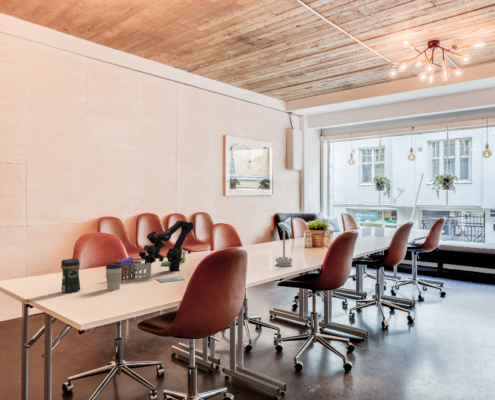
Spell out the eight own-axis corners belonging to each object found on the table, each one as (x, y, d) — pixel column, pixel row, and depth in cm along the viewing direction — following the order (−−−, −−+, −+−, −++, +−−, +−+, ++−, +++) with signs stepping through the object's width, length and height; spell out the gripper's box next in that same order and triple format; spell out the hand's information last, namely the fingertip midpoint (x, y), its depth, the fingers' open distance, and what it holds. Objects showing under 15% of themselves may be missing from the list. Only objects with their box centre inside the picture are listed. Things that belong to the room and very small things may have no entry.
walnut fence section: (130, 278, 254) (130, 263, 254) (131, 278, 253) (131, 263, 253) (112, 280, 248) (112, 264, 248) (113, 280, 247) (113, 265, 247)
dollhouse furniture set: (160, 266, 296) (160, 252, 296) (171, 260, 325) (171, 247, 325) (178, 267, 295) (178, 252, 294) (188, 260, 323) (188, 247, 323)
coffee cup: (112, 291, 220) (112, 265, 220) (102, 289, 225) (102, 263, 224) (125, 288, 228) (125, 262, 227) (115, 286, 232) (114, 261, 232)
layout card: (179, 276, 259) (179, 276, 259) (184, 279, 250) (184, 279, 250) (155, 279, 251) (155, 278, 251) (160, 282, 242) (160, 282, 242)
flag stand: (293, 266, 297) (293, 227, 296) (276, 266, 297) (276, 227, 296) (291, 263, 310) (291, 226, 309) (275, 263, 310) (275, 226, 309)
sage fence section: (131, 277, 253) (131, 263, 253) (132, 277, 255) (132, 262, 255) (150, 277, 253) (150, 263, 253) (151, 277, 255) (151, 262, 255)
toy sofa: (128, 275, 263) (128, 260, 262) (116, 275, 264) (116, 260, 264) (141, 269, 283) (141, 255, 283) (130, 269, 285) (130, 255, 285)
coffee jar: (76, 288, 226) (76, 257, 226) (81, 291, 220) (81, 258, 220) (59, 291, 219) (59, 259, 219) (64, 294, 214) (64, 260, 213)
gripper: (140, 239, 265) (128, 258, 256) (160, 241, 256) (148, 260, 246) (148, 249, 272) (136, 267, 263) (168, 252, 263) (157, 270, 253)
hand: (144, 266), depth 256 cm, fingers closed
